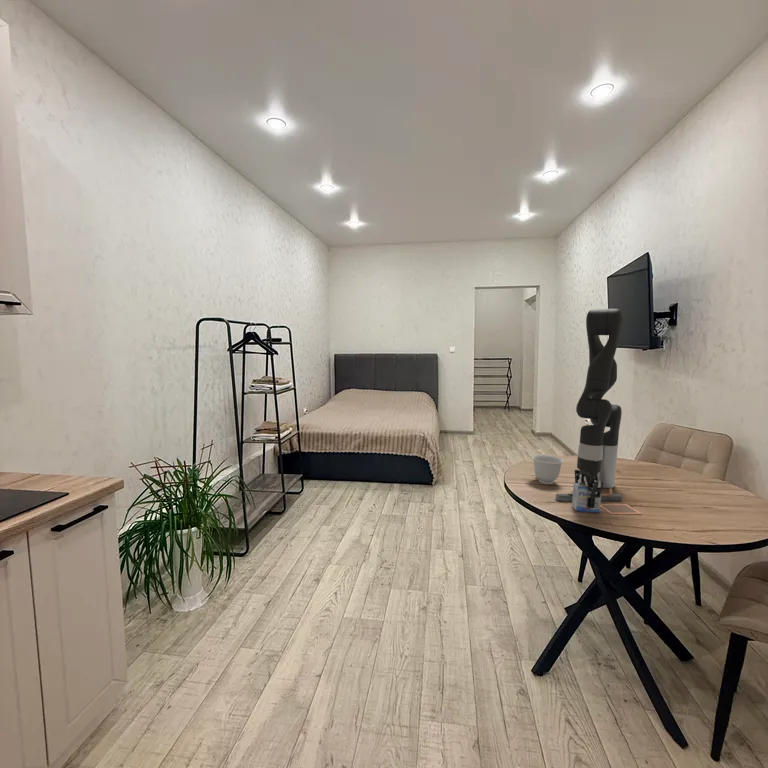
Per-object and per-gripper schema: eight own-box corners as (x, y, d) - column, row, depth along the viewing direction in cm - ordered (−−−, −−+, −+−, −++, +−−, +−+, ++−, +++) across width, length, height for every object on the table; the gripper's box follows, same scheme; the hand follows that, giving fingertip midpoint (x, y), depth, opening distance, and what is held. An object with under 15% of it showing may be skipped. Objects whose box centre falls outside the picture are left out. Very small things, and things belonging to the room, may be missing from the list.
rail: (555, 499, 152) (556, 487, 151) (618, 499, 153) (619, 487, 153) (558, 501, 150) (559, 489, 149) (621, 501, 151) (622, 489, 151)
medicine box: (575, 511, 141) (577, 486, 140) (571, 506, 146) (573, 482, 145) (600, 513, 140) (602, 488, 139) (595, 507, 144) (597, 484, 143)
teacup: (552, 475, 179) (554, 453, 178) (566, 487, 164) (568, 463, 163) (524, 474, 179) (525, 452, 178) (536, 486, 164) (538, 462, 163)
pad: (597, 505, 147) (597, 503, 147) (626, 504, 148) (626, 503, 148) (610, 514, 139) (610, 513, 139) (641, 514, 140) (641, 513, 140)
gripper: (568, 450, 148) (565, 496, 149) (591, 462, 133) (587, 513, 135) (588, 450, 148) (585, 496, 150) (613, 462, 134) (609, 513, 136)
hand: (586, 504), depth 142 cm, fingers closed on medicine box, 5 cm apart
